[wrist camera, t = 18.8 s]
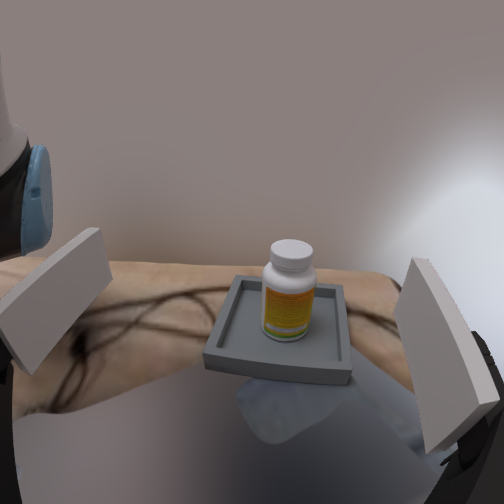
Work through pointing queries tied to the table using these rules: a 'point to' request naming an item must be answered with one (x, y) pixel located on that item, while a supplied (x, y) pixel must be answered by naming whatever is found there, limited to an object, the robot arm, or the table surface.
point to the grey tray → (281, 352)
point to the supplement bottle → (288, 290)
